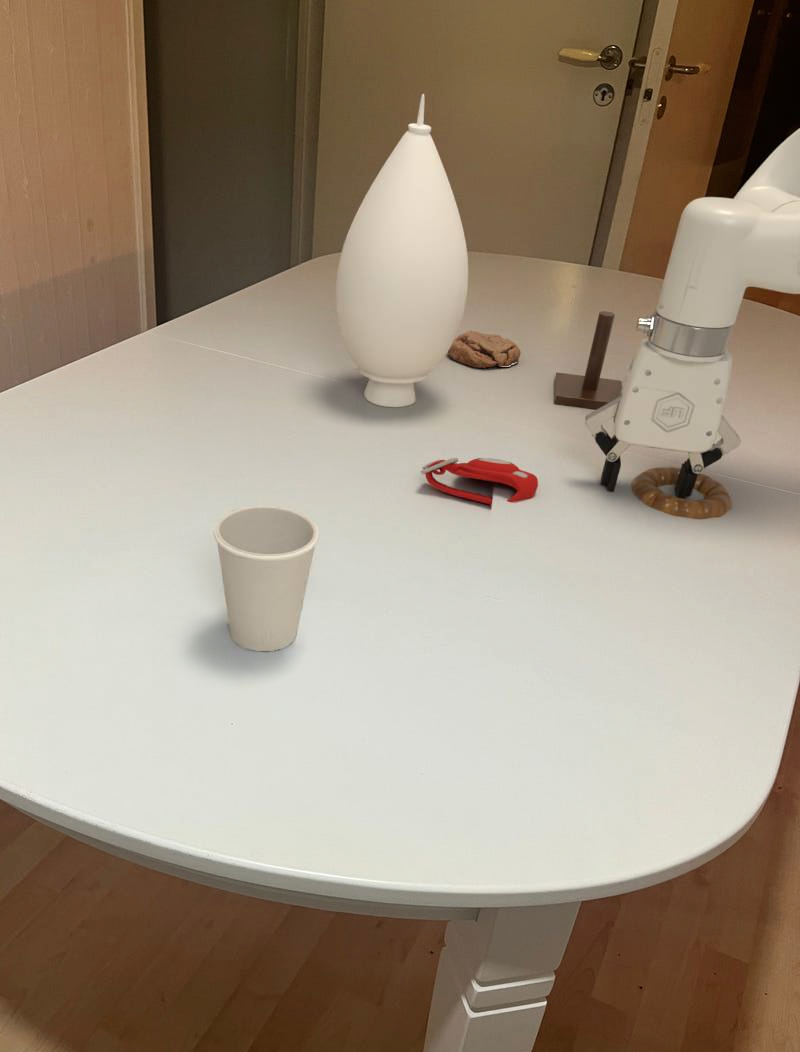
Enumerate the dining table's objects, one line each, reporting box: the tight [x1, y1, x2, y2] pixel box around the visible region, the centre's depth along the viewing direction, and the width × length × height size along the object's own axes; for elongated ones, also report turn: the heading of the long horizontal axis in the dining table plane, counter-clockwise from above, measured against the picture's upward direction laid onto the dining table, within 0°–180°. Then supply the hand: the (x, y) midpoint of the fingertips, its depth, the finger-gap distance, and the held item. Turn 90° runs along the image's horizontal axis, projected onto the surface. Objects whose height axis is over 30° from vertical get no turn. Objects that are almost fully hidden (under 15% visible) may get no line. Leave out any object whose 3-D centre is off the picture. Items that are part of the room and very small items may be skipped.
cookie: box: [447, 330, 522, 369], centre depth 140 cm, size 10×11×3 cm
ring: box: [631, 466, 733, 520], centre depth 105 cm, size 10×10×3 cm
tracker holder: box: [420, 457, 539, 505], centre depth 104 cm, size 12×4×10 cm
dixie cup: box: [212, 504, 320, 652], centre depth 78 cm, size 8×8×10 cm
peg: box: [554, 310, 623, 410], centre depth 127 cm, size 9×9×11 cm
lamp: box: [335, 93, 469, 408], centre depth 116 cm, size 16×16×35 cm
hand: (643, 494), depth 105 cm, fingers open, 6 cm apart
